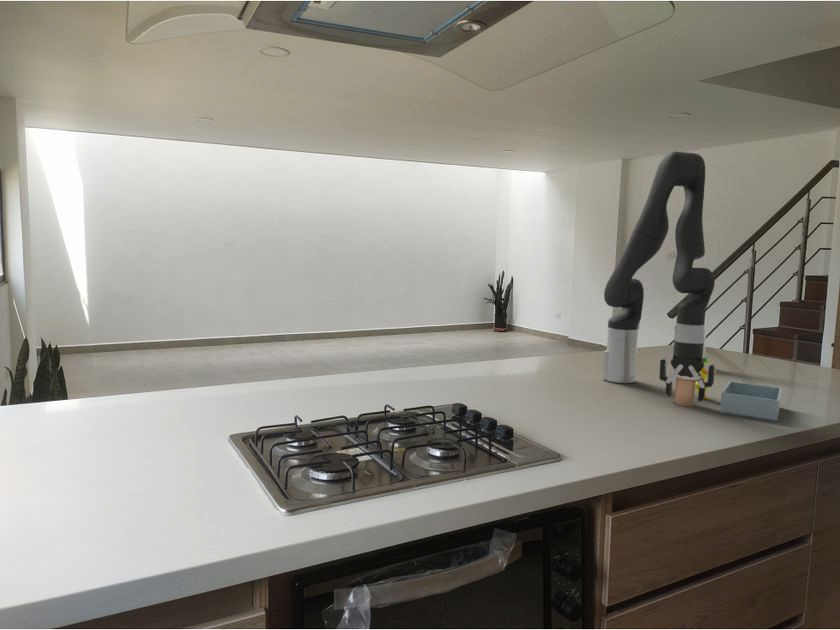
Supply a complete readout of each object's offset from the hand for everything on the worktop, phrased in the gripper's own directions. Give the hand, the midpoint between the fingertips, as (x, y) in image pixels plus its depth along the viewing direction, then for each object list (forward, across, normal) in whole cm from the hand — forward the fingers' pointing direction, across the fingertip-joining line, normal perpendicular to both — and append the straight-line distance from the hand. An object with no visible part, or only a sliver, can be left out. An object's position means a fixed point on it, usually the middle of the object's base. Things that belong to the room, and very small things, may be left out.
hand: (684, 398), depth 163 cm
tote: (+2, +16, +5) cm, 17 cm away
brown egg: (+2, 0, 0) cm, 2 cm away
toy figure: (+2, +3, +10) cm, 11 cm away
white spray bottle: (+2, -6, +58) cm, 58 cm away
